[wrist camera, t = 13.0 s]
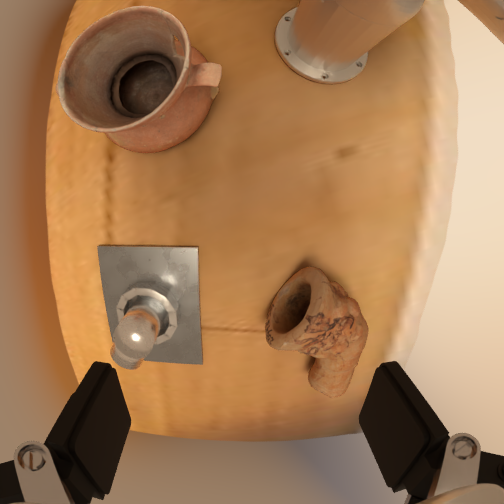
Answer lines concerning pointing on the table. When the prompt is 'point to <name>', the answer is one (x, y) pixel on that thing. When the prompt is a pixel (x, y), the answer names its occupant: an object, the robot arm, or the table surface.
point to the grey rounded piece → (137, 332)
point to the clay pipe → (318, 328)
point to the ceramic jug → (138, 80)
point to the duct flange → (156, 294)
